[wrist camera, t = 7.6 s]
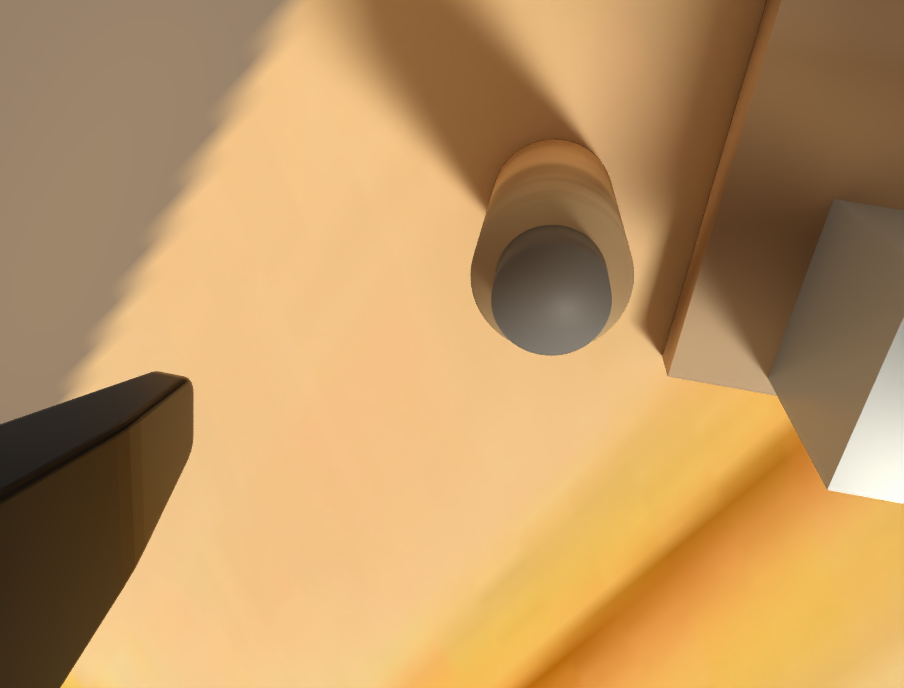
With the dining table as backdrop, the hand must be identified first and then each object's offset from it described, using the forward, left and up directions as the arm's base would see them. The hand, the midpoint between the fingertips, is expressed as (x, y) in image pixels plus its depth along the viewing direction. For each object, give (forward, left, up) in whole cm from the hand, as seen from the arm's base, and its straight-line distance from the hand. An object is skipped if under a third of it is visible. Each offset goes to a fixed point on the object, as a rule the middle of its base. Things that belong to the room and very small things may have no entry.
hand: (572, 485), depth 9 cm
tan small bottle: (0, 0, -13) cm, 13 cm away
